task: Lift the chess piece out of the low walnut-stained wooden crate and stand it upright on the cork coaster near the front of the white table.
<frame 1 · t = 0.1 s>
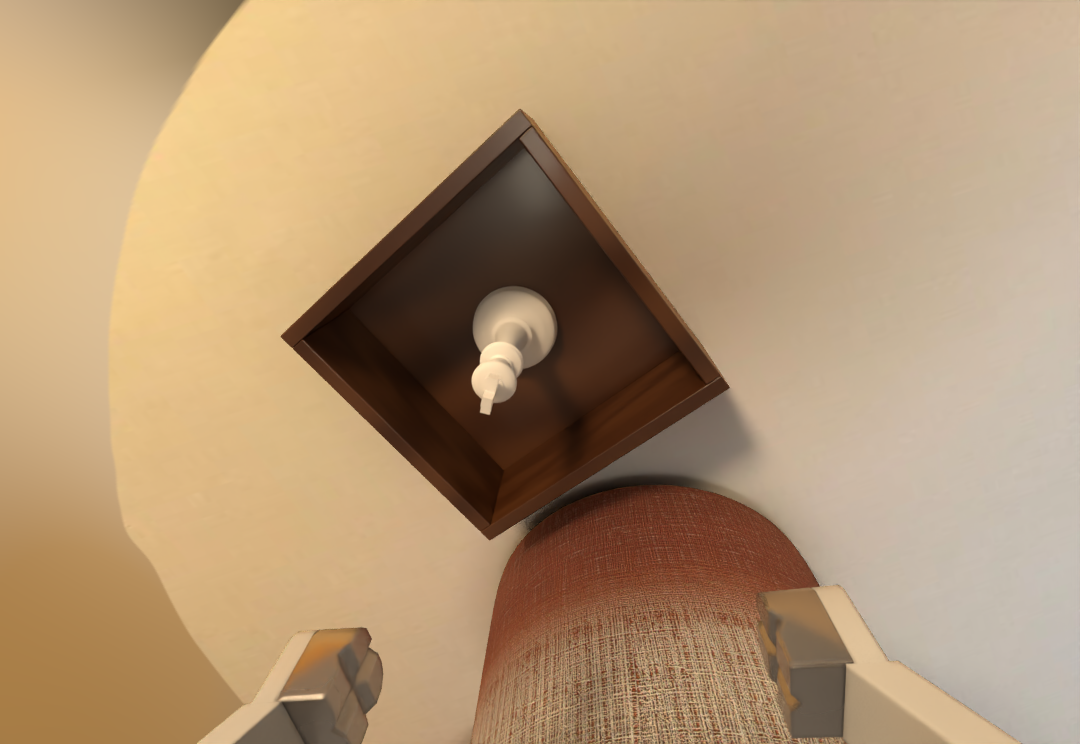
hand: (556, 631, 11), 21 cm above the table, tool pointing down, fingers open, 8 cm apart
crate: (515, 325, 30), on the table
planter: (648, 596, 38), on the table
chess piece: (515, 326, 30), resting on crate
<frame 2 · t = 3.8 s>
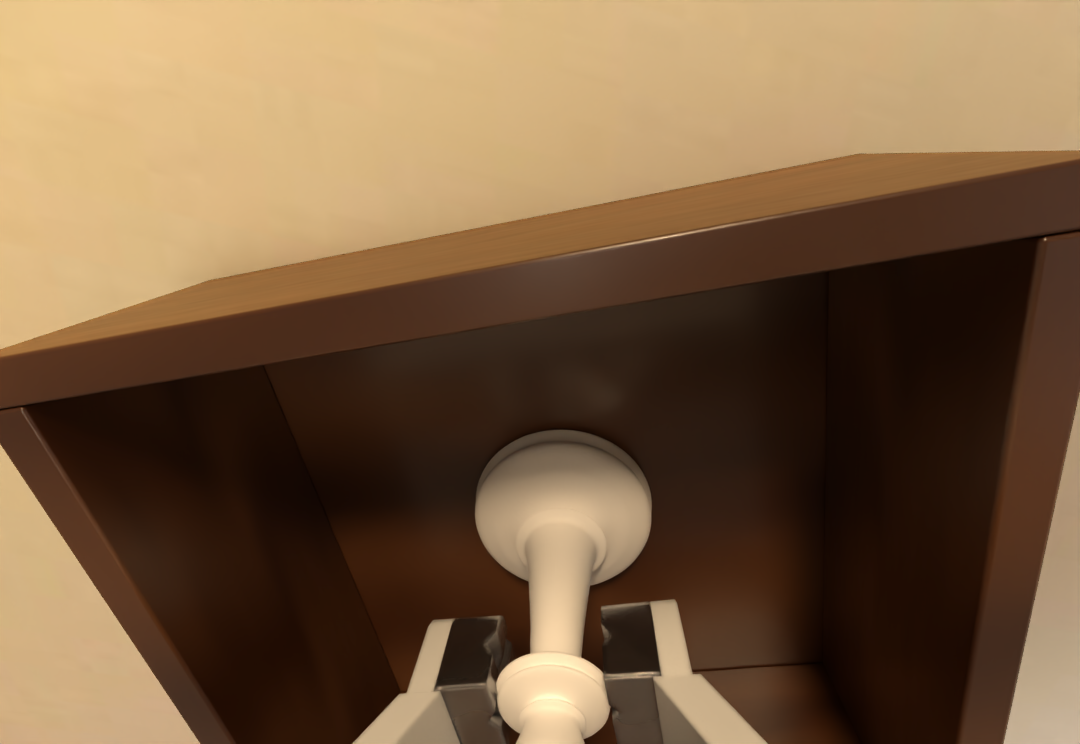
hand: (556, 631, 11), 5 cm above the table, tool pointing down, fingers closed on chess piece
crate: (563, 496, 15), on the table
chess piece: (562, 501, 15), resting on crate, touching gripper
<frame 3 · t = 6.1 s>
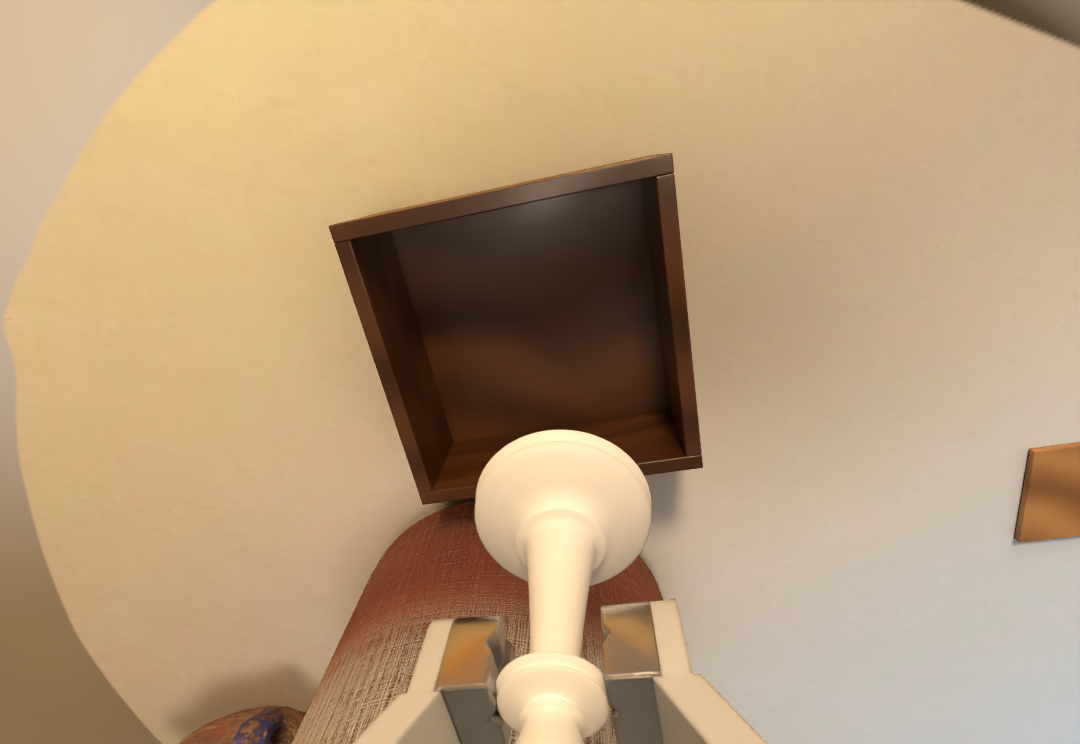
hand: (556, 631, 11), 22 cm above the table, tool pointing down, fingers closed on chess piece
crate: (536, 321, 31), on the table
bowl: (294, 736, 47), on the table
planter: (517, 604, 40), on the table
chess piece: (562, 501, 15), point 17 cm above the table, touching gripper
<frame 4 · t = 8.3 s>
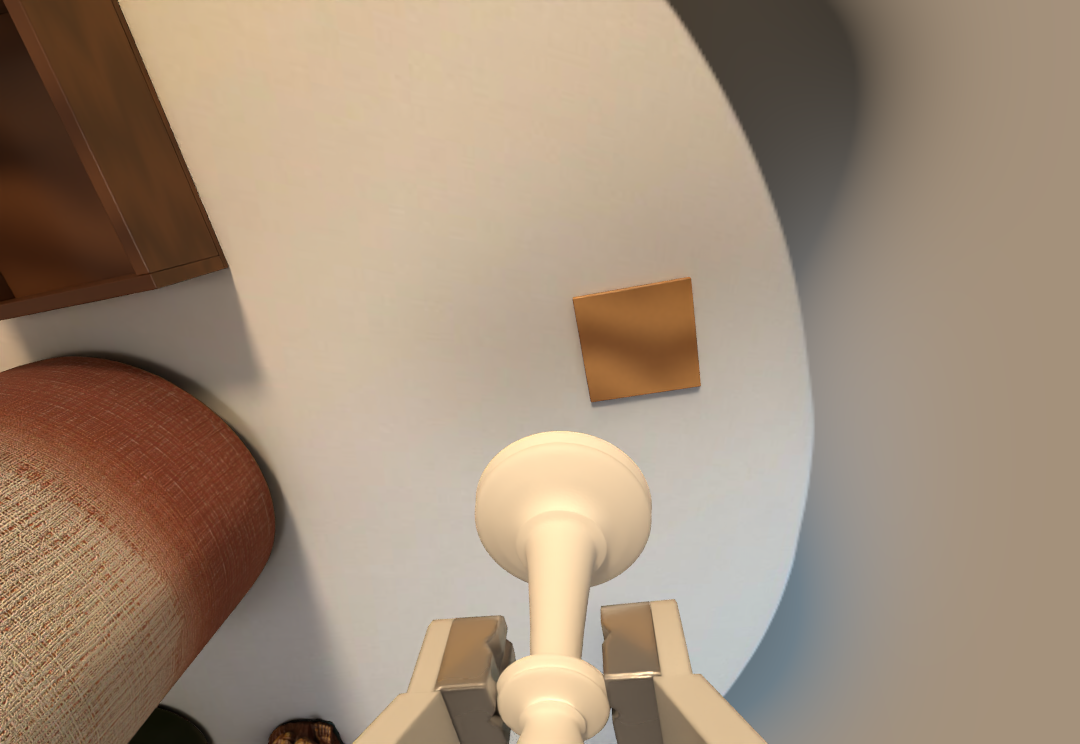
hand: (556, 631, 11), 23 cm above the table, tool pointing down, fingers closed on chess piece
coaster: (637, 341, 32), on the table
crate: (55, 160, 30), on the table
planter: (145, 483, 39), on the table
chess piece: (562, 502, 15), point 18 cm above the table, touching gripper
figurine: (315, 731, 49), on the table
green wine bottle: (164, 734, 51), on the table
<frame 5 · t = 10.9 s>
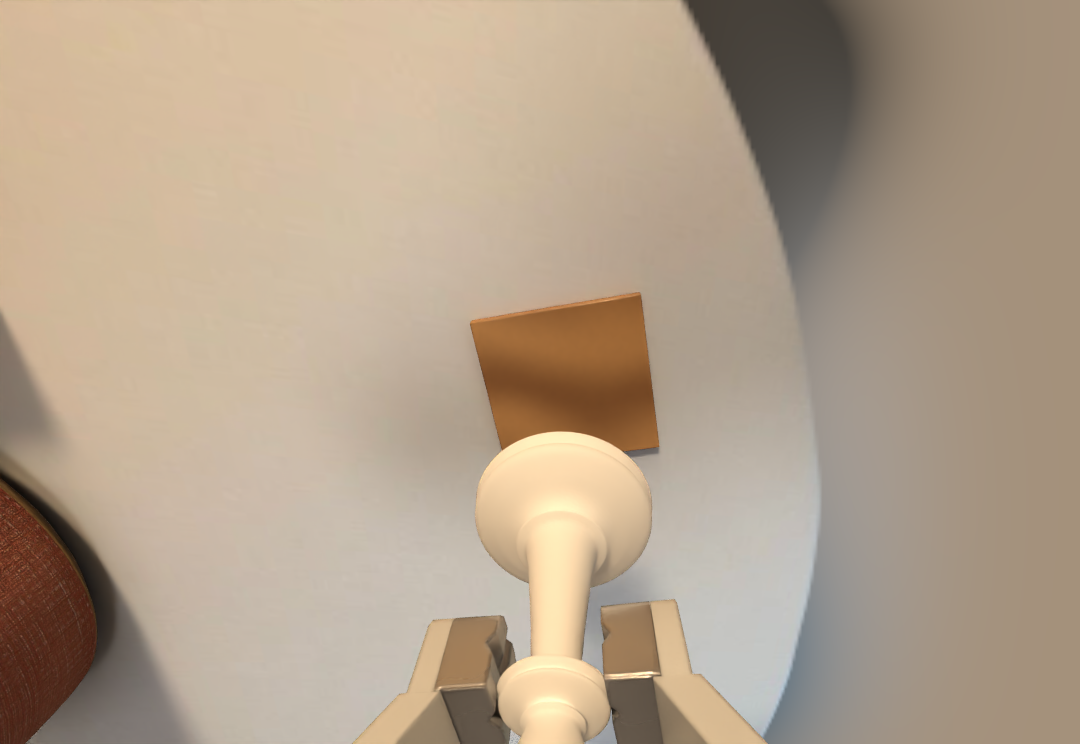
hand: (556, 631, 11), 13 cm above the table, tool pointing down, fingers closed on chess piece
coaster: (568, 383, 22), on the table
chess piece: (563, 502, 15), point 8 cm above the table, touching gripper
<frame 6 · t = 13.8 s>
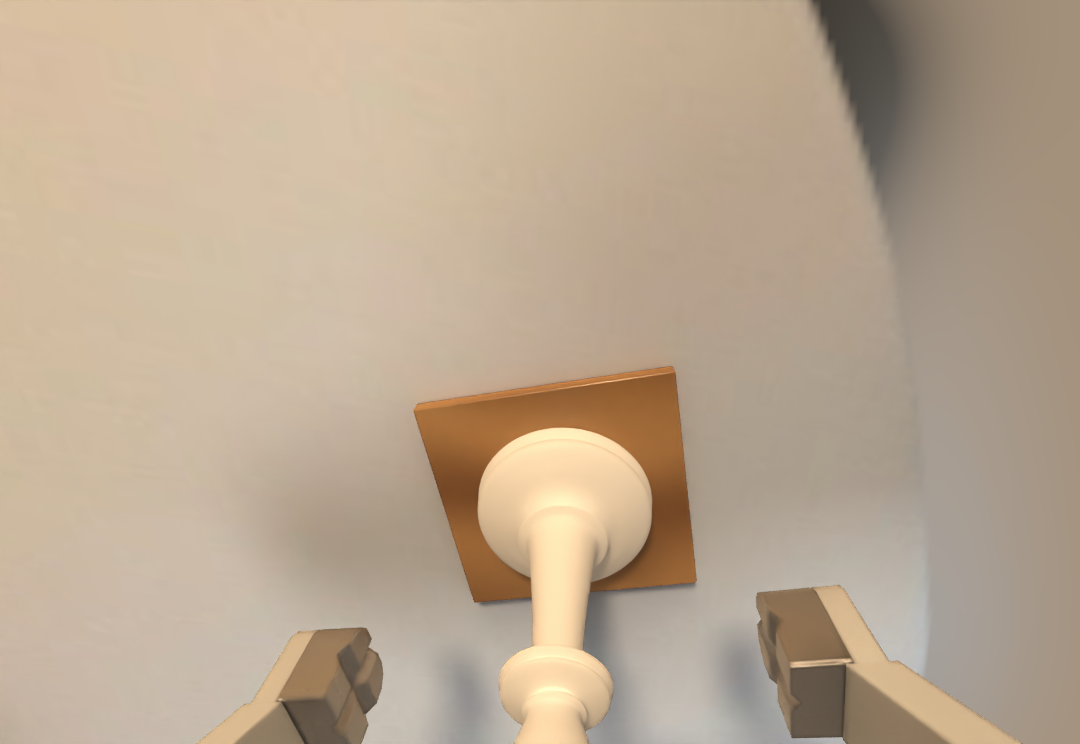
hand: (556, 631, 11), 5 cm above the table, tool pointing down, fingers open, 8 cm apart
coaster: (562, 492, 15), on the table
chess piece: (564, 498, 15), resting on coaster
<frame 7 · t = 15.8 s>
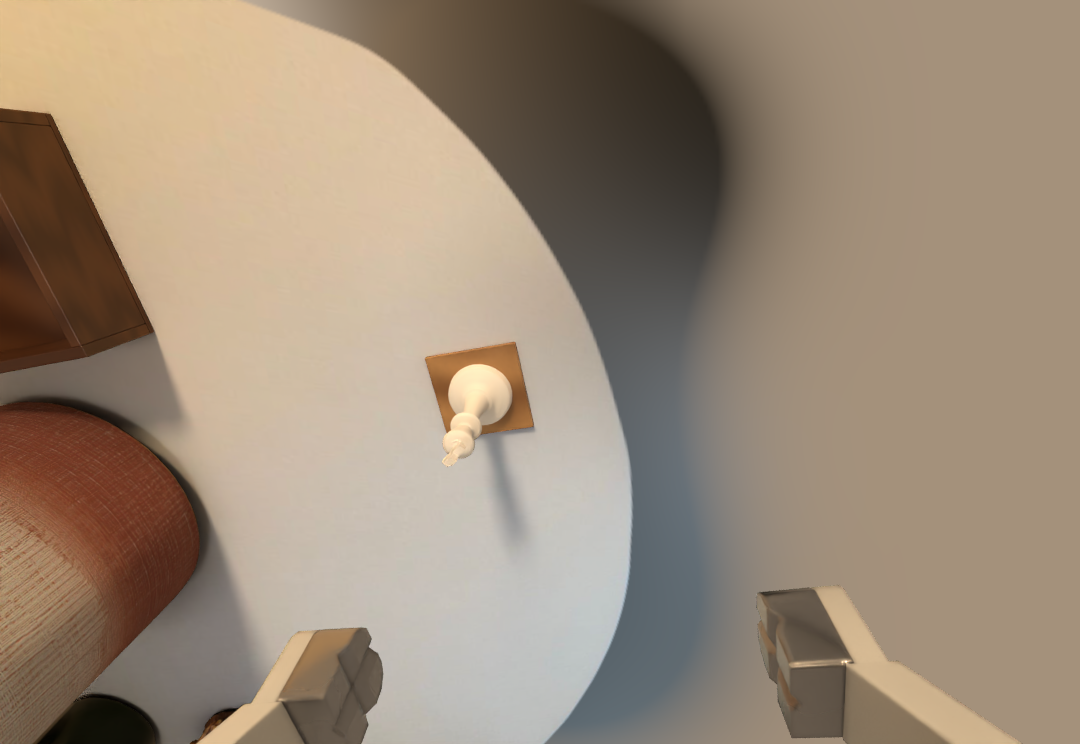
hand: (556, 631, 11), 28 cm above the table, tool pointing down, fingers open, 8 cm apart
coaster: (481, 391, 40), on the table
crate: (15, 250, 38), on the table
planter: (93, 503, 47), on the table
chess piece: (481, 392, 40), resting on coaster
figurine: (246, 719, 56), on the table
green wine bottle: (115, 723, 58), on the table
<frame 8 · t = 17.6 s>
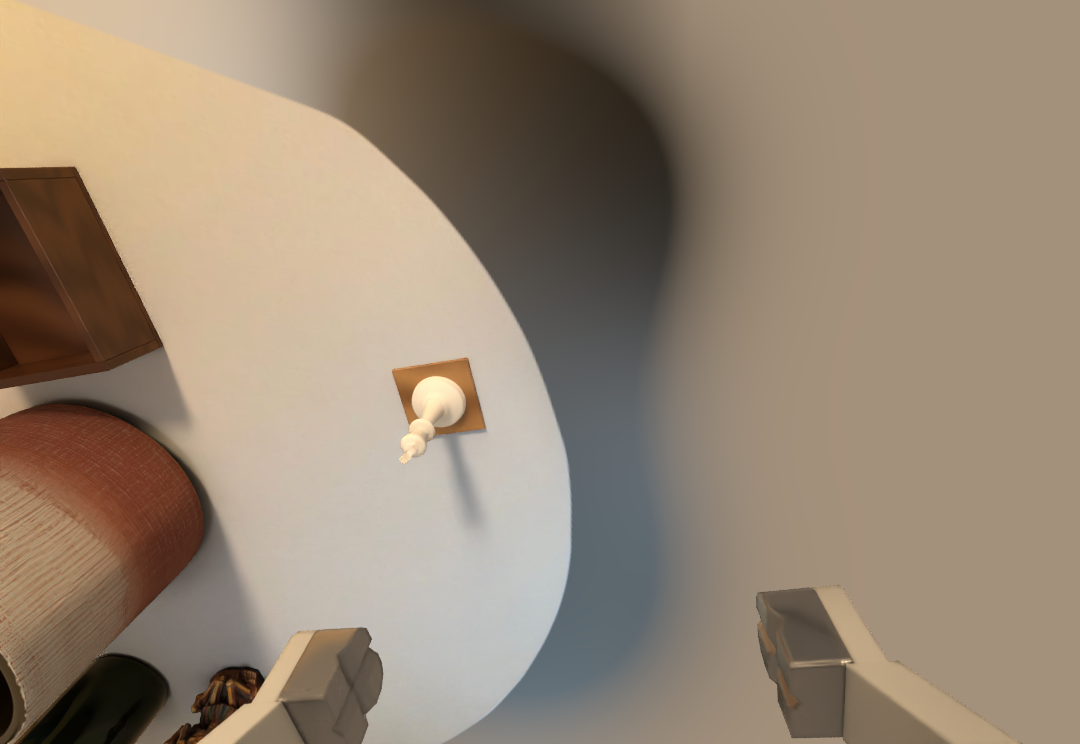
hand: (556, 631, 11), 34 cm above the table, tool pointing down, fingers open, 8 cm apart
coaster: (440, 398, 47), on the table
crate: (45, 277, 45), on the table
planter: (111, 489, 54), on the table
chess piece: (440, 399, 47), resting on coaster
figurine: (246, 677, 65), on the table
green wine bottle: (132, 679, 67), on the table
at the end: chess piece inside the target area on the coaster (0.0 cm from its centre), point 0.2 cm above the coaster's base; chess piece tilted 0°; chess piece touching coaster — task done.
